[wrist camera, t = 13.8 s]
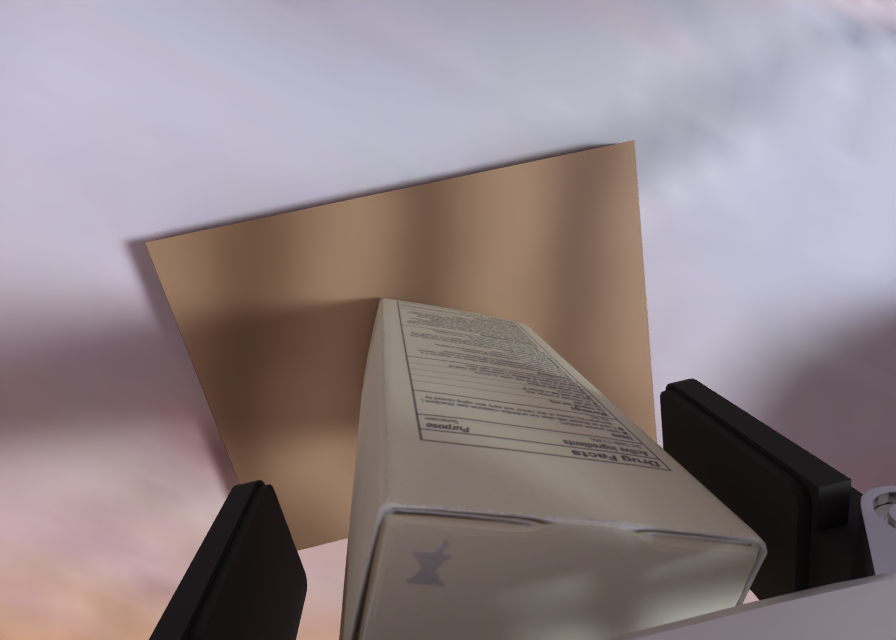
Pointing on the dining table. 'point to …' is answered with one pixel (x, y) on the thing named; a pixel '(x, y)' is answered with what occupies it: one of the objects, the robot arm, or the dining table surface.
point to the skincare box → (518, 497)
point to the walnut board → (406, 279)
